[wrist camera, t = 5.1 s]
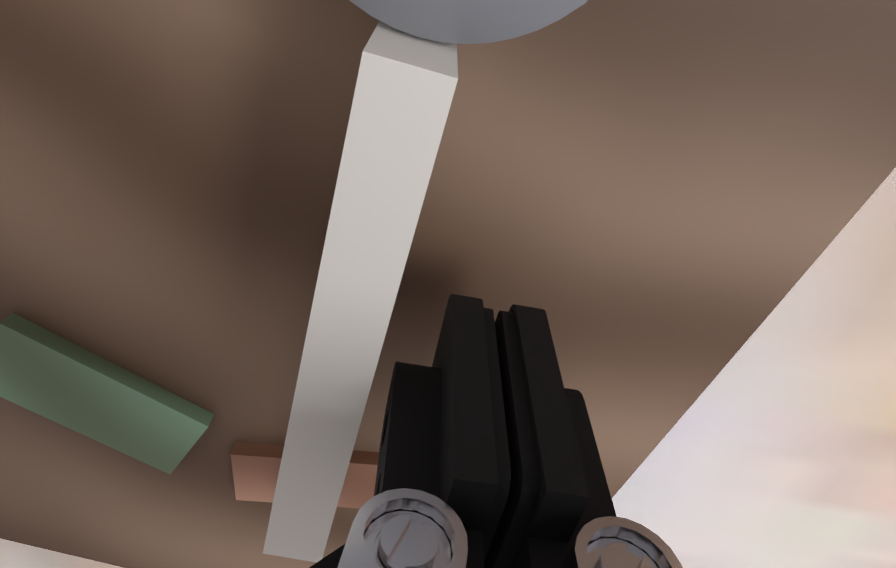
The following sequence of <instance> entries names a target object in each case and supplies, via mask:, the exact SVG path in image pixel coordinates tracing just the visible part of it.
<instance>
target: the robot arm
mask: <svg viewBox="0 0 896 568" xmlns="http://www.w3.org/2000/svg"><path fill="white" fill-rule="evenodd" d="M309 568H683V567H682V565H681V563H680V562H679V560H678V559H677V557H676V556H675V554H674V553H673V551H672V550H671V548H670V547H669V546H668V545H667V544H666V543H665V542H664V541H663V540H662V539H661V538H660V537H659V536H658V535H656V534H655V533H653V532H652V531H650V530H649V529H647V528H646V527H644V526H643V525H641V524H638V523H636V522H633V521H631V520H628V519H626V518H620V517H616V513H615V510H614V506H613V502H612V499H611V495H610V491H609V488H608V484H607V481H606V477H605V473H604V470H603V466H602V462H601V459H600V455H599V451H598V448H597V444H596V440H595V437H594V433H593V429H592V426H591V422H590V419H589V415H588V411H587V408H586V404H585V400H584V398H583V395H582V393H581V392H580V391H578V390H574V389H568V388H564V385H563V381H562V377H561V373H560V368H559V364H558V360H557V356H556V352H555V348H554V343H553V339H552V335H551V331H550V327H549V323H548V318H547V314H546V312H545V310H544V309H539V308H533V307H528V306H522V305H516V304H513V305H512V306H511V307H510V309H509V312H508V311H502V310H500V311H499V312H498V314H497V317H496V320H494V312H493V309H490V308H484V307H483V300H482V299H480V298H475V297H469V296H463V295H457V294H450V296H449V299H448V302H447V306H446V310H445V315H444V319H443V323H442V327H441V331H440V335H439V339H438V343H437V347H436V352H435V356H434V360H433V364H432V367H428V366H422V365H416V364H410V363H403V362H397V361H396V362H395V365H394V369H393V374H392V379H391V384H390V389H389V394H388V399H387V404H386V410H385V416H384V422H383V428H382V435H381V442H380V450H379V458H378V466H377V474H376V482H375V490H374V496H373V497H372V498H371V499H370V500H369V501H367V502H366V503H365V504H364V505H363V506H362V507H361V508H360V510H359V511H358V513H357V515H356V517H355V519H354V520H353V523H352V526H351V529H350V532H349V535H348V538H347V541H346V543H345V544H344V545H342V546H341V547H339V548H338V549H336V550H335V551H333V552H332V553H330V554H329V555H327V556H326V557H324V558H323V559H321V560H320V561H318V562H317V563H315V564H314V565H312V566H311V567H309Z"/></svg>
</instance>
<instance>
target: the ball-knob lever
mask: <svg viewBox="0 0 896 568" xmlns="http://www.w3.org/2000/svg"><path fill="white" fill-rule="evenodd" d="M349 1H351V2H352V3H353V4H355V5H356V6H358V7H359V8H360V9H362V10H363V11H365V12H366V13H368V14H369V15H370V16H372V17H374V18H376V19H378V20H379V23H378V24H377V26H376V28H375V30H374V32H373V33H372V35H371V37H370V39H369V41H368V42H367V44H366V46H365V48H364V50H363V52H362V57H361V62H360V67H359V72H358V77H357V82H356V87H355V92H354V97H353V102H352V107H351V112H350V117H349V122H348V127H347V132H346V137H345V142H344V148H343V153H342V158H341V163H340V168H339V173H338V178H337V183H336V188H335V193H334V198H333V203H332V208H331V213H330V218H329V223H328V228H327V233H326V238H325V243H324V248H323V253H322V258H321V263H320V268H319V273H318V278H317V283H316V288H315V293H314V298H313V303H312V308H311V313H310V318H309V323H308V328H307V333H306V338H305V343H304V348H303V353H302V358H301V363H300V368H299V374H298V379H297V384H296V389H295V394H294V399H293V404H292V409H291V414H290V419H289V424H288V429H287V434H286V439H285V444H284V449H283V454H282V459H281V464H280V469H279V474H278V479H277V484H276V489H275V494H274V499H273V504H272V509H271V514H270V519H269V524H268V529H267V534H266V539H265V544H264V549H263V554H269V555H275V556H281V557H287V558H292V559H298V560H304V561H310V562H316V563H317V562H318V561H320V560H321V559H322V558H323V554H324V551H325V547H326V544H327V540H328V536H329V533H330V529H331V526H332V522H333V519H334V515H335V512H336V508H337V505H338V501H339V498H340V494H341V491H342V487H343V484H344V480H345V476H346V473H347V469H348V466H349V462H350V459H351V455H352V452H353V448H354V445H355V441H356V438H357V434H358V431H359V427H360V424H361V420H362V416H363V413H364V409H365V406H366V402H367V399H368V395H369V392H370V388H371V385H372V381H373V378H374V374H375V371H376V367H377V364H378V360H379V356H380V353H381V349H382V346H383V342H384V339H385V335H386V332H387V328H388V325H389V321H390V318H391V314H392V311H393V307H394V304H395V300H396V296H397V293H398V289H399V286H400V282H401V279H402V275H403V272H404V268H405V265H406V261H407V258H408V254H409V251H410V247H411V244H412V240H413V237H414V233H415V229H416V226H417V222H418V219H419V215H420V212H421V208H422V205H423V201H424V198H425V194H426V191H427V187H428V184H429V180H430V177H431V173H432V169H433V166H434V162H435V159H436V155H437V152H438V148H439V145H440V141H441V138H442V134H443V131H444V127H445V124H446V120H447V117H448V113H449V109H450V106H451V102H452V99H453V95H454V92H455V88H456V85H457V81H458V61H457V44H480V43H492V42H497V41H503V40H508V39H513V38H516V37H519V36H522V35H525V34H528V33H531V32H534V31H537V30H540V29H542V28H544V27H546V26H548V25H550V24H552V23H554V22H556V21H558V20H560V19H562V18H563V17H565V16H566V15H568V14H569V13H571V12H573V11H574V10H576V9H577V8H579V7H580V6H582V5H583V4H585V3H586V2H587V1H588V0H349Z"/></svg>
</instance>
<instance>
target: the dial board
mask: <svg viewBox="0 0 896 568" xmlns="http://www.w3.org/2000/svg"><path fill="white" fill-rule="evenodd" d="M378 23H379V20H378V19H376V18H374V17H372V16H370V15H369V14H368V13H366V12H365V11H363V10H362V9H360V8H359V7H358V6H356V5H355V4H353V3H352V2H351V1H349V0H0V538H2V539H6V540H10V541H14V542H19V543H23V544H27V545H31V546H35V547H40V548H44V549H48V550H52V551H57V552H61V553H65V554H69V555H74V556H78V557H82V558H86V559H91V560H95V561H99V562H103V563H108V564H112V565H116V566H120V567H125V568H309V567H311V566H312V565H314V564H315V563H316V562H310V561H304V560H298V559H292V558H287V557H281V556H275V555H269V554H263V549H264V544H265V539H266V534H267V529H268V524H269V519H270V514H271V509H272V504H273V499H274V494H275V489H276V484H277V479H278V474H279V469H280V464H281V459H282V454H283V449H284V444H285V439H286V434H287V429H288V424H289V419H290V414H291V409H292V404H293V399H294V394H295V389H296V384H297V379H298V374H299V368H300V363H301V358H302V353H303V348H304V343H305V338H306V333H307V328H308V323H309V318H310V313H311V308H312V303H313V298H314V293H315V288H316V283H317V278H318V273H319V268H320V263H321V258H322V253H323V248H324V243H325V238H326V233H327V228H328V223H329V218H330V213H331V208H332V203H333V198H334V193H335V188H336V183H337V178H338V173H339V168H340V163H341V158H342V153H343V148H344V142H345V137H346V132H347V127H348V122H349V117H350V112H351V107H352V102H353V97H354V92H355V87H356V82H357V77H358V72H359V67H360V62H361V57H362V52H363V50H364V48H365V46H366V44H367V42H368V41H369V39H370V37H371V35H372V33H373V32H374V30H375V28H376V26H377V24H378ZM457 61H458V81H457V85H456V88H455V92H454V95H453V99H452V102H451V106H450V109H449V113H448V117H447V120H446V124H445V127H444V131H443V134H442V138H441V141H440V145H439V148H438V152H437V155H436V159H435V162H434V166H433V169H432V173H431V177H430V180H429V184H428V187H427V191H426V194H425V198H424V201H423V205H422V208H421V212H420V215H419V219H418V222H417V226H416V229H415V233H414V237H413V240H412V244H411V247H410V251H409V254H408V258H407V261H406V265H405V268H404V272H403V275H402V279H401V282H400V286H399V289H398V293H397V296H396V300H395V304H394V307H393V311H392V314H391V318H390V321H389V325H388V328H387V332H386V335H385V339H384V342H383V346H382V349H381V353H380V356H379V360H378V364H377V367H376V371H375V374H374V378H373V381H372V385H371V388H370V392H369V395H368V399H367V402H366V406H365V409H364V413H363V416H362V420H361V424H360V427H359V431H358V434H357V438H356V441H355V445H354V448H353V452H352V455H351V459H350V462H349V466H348V469H347V473H346V476H345V480H344V484H343V487H342V491H341V494H340V498H339V501H338V505H337V508H336V512H335V515H334V519H333V522H332V526H331V529H330V533H329V536H328V540H327V544H326V547H325V551H324V554H323V558H324V557H326V556H327V555H329V554H330V553H332V552H333V551H335V550H336V549H338V548H339V547H341V546H342V545H344V544H345V543H346V541H347V538H348V535H349V532H350V529H351V526H352V523H353V520H354V519H355V517H356V515H357V513H358V511H359V510H360V508H361V507H362V506H363V505H364V504H365V503H366V502H367V501H369V500H370V499H371V498H372V497H373V496H374V490H375V482H376V474H377V466H378V458H379V450H380V442H381V435H382V428H383V422H384V416H385V410H386V404H387V399H388V394H389V389H390V384H391V379H392V374H393V369H394V365H395V362H396V361H397V362H403V363H410V364H416V365H422V366H428V367H432V364H433V360H434V356H435V352H436V347H437V343H438V339H439V335H440V331H441V327H442V323H443V319H444V315H445V310H446V306H447V302H448V299H449V296H450V294H457V295H463V296H469V297H475V298H480V299H482V300H483V307H484V308H490V309H493V312H494V320H496V317H497V314H498V312H499V311H500V310H502V311H508V312H509V309H510V307H511V306H512V305H513V304H516V305H522V306H528V307H533V308H539V309H544V310H545V312H546V314H547V318H548V323H549V327H550V331H551V335H552V339H553V343H554V348H555V352H556V356H557V360H558V364H559V368H560V373H561V377H562V381H563V385H564V388H568V389H574V390H578V391H580V392H581V393H582V395H583V398H584V400H585V404H586V408H587V411H588V415H589V419H590V422H591V426H592V429H593V433H594V437H595V440H596V444H597V448H598V451H599V455H600V459H601V462H602V466H603V470H604V473H605V477H606V481H607V484H608V488H609V491H610V495H611V499H612V497H613V496H614V495H615V494H616V493H617V492H618V490H619V489H620V488H621V487H622V486H623V485H624V483H625V482H626V481H627V480H628V479H629V478H630V476H631V475H632V474H633V473H634V472H635V471H636V469H637V468H638V467H639V466H640V465H641V464H642V462H643V461H644V460H645V459H646V458H647V456H648V455H649V454H650V453H651V452H652V451H653V449H654V448H655V447H656V446H657V445H658V444H659V442H660V441H661V440H662V439H663V438H664V437H665V435H666V434H667V433H668V432H669V431H670V430H671V428H672V427H673V426H674V425H675V424H676V423H677V421H678V420H679V419H680V418H681V417H682V416H683V414H684V413H685V412H686V411H687V410H688V409H689V407H690V406H691V405H692V404H693V403H694V402H695V400H696V399H697V398H698V397H699V396H700V395H701V393H702V392H703V391H704V390H705V389H706V388H707V386H708V385H709V384H710V383H711V382H712V381H713V379H714V378H715V377H716V376H717V375H718V374H719V372H720V371H721V370H722V369H723V368H724V367H725V365H726V364H727V363H728V362H729V361H730V360H731V358H732V357H733V356H734V355H735V354H736V353H737V351H738V350H739V349H740V348H741V347H742V346H743V344H744V343H745V342H746V341H747V340H748V339H749V337H750V336H751V335H752V334H753V333H754V332H755V330H756V329H757V328H758V327H759V326H760V325H761V323H762V322H763V321H764V320H765V319H766V318H767V316H768V315H769V314H770V313H771V312H772V311H773V309H774V308H775V307H776V306H777V305H778V304H779V302H780V301H781V300H782V299H783V298H784V297H785V295H786V294H787V293H788V292H789V291H790V290H791V288H792V287H793V286H794V285H795V284H796V283H797V281H798V280H799V279H800V278H801V277H802V276H803V274H804V273H805V272H806V271H807V270H808V269H809V267H810V266H811V265H812V264H813V263H814V262H815V260H816V259H817V258H818V257H819V256H820V254H821V253H822V252H823V251H824V250H825V249H826V247H827V246H828V245H829V244H830V243H831V242H832V240H833V239H834V238H835V237H836V236H837V235H838V233H839V232H840V231H841V230H842V229H843V228H844V226H845V225H846V224H847V223H848V222H849V221H850V219H851V218H852V217H853V216H854V215H855V214H856V212H857V211H858V210H859V209H860V208H861V207H862V205H863V204H864V203H865V202H866V201H867V200H868V198H869V197H870V196H871V195H872V194H873V193H874V191H875V190H876V189H877V188H878V187H879V186H880V184H881V183H882V182H883V181H884V180H885V179H886V177H887V176H888V175H889V174H890V173H891V172H892V170H893V169H894V168H895V167H896V0H588V1H587V2H586V3H585V4H583V5H582V6H580V7H579V8H577V9H576V10H574V11H573V12H571V13H569V14H568V15H566V16H565V17H563V18H562V19H560V20H558V21H556V22H554V23H552V24H550V25H548V26H546V27H544V28H542V29H540V30H537V31H534V32H531V33H528V34H525V35H522V36H519V37H516V38H513V39H508V40H503V41H497V42H492V43H480V44H457ZM323 558H322V559H323Z"/></svg>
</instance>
